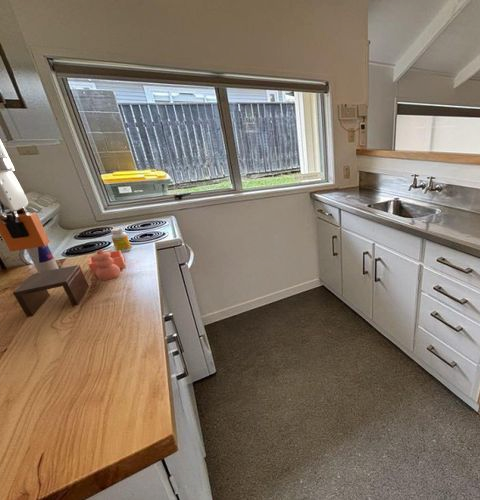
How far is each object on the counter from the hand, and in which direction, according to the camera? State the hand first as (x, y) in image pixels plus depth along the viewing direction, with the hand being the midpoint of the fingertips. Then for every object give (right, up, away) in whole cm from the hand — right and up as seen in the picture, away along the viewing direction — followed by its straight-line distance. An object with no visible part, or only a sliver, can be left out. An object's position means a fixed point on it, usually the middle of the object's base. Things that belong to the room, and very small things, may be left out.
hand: (24, 234), depth 78 cm
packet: (0, -3, +1) cm, 4 cm away
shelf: (+1, -20, +8) cm, 22 cm away
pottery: (+1, -12, +27) cm, 29 cm away
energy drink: (-21, -13, +27) cm, 36 cm away
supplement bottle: (-9, -5, +46) cm, 47 cm away
